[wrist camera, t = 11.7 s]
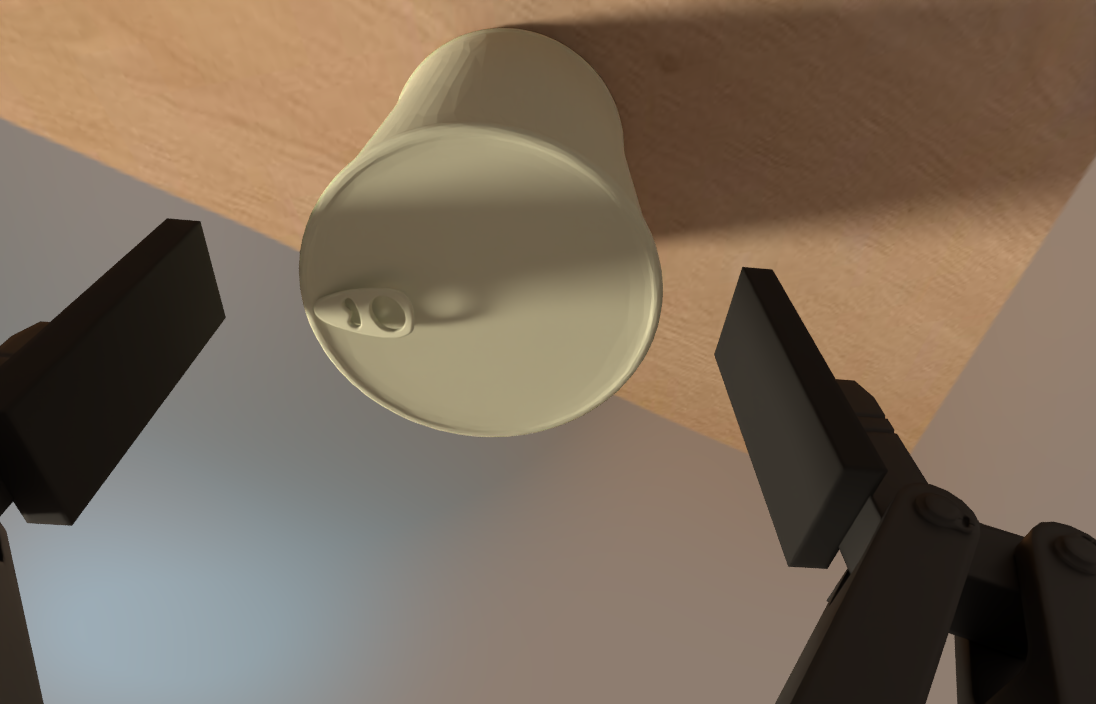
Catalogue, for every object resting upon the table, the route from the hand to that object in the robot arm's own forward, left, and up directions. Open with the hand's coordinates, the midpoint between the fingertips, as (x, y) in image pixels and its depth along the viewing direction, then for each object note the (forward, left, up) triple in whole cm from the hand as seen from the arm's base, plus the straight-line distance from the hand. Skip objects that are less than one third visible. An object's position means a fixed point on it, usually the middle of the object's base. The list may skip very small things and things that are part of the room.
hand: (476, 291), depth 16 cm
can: (0, 0, -12) cm, 12 cm away
